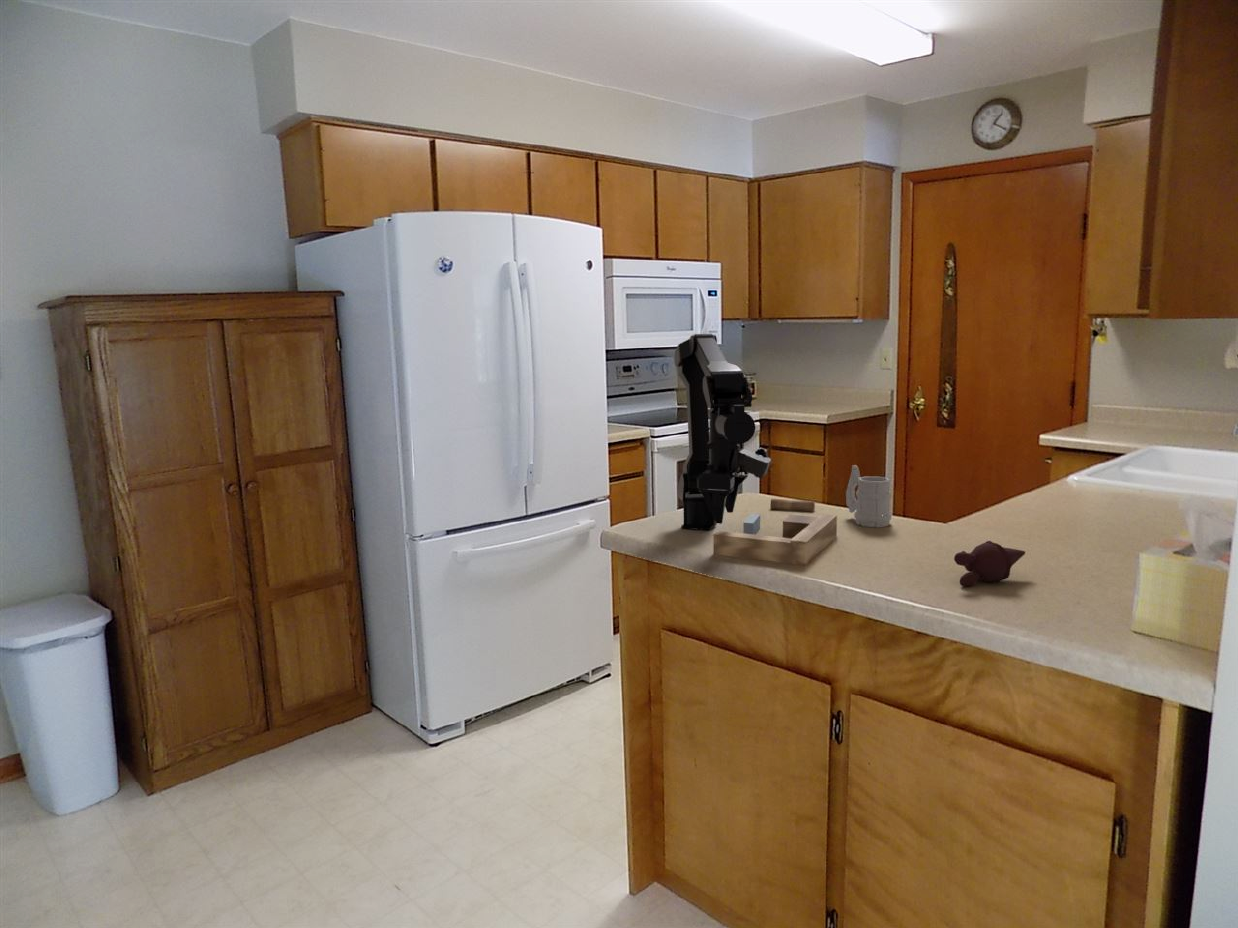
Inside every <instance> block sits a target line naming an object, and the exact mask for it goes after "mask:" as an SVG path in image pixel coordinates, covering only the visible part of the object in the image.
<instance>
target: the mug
mask: <svg viewBox="0 0 1238 928" xmlns="http://www.w3.org/2000/svg"><path fill="white" fill-rule="evenodd" d="M849 477H850V478H849V480H848V485H847V489H846V490H845V496H846V500H845V501H846V507H848V510H849V512H850V513H851V514H852V513H853V514H854V518H855V524H856V525H857V526H862V527H866V528H884V527H888V526H890V523H891V522H890V521H891V520H892V513H890V498H891V496H892V492H891V491H890V479H889V478H888V477H883V476H873V475H872V476H867V475H866V476H862V477H861V474H860V469H859V467H858V466H857V464H854V465H851V473H850V476H849ZM856 487H857V490H856V491H855V489H856ZM882 515H883V516H882Z"/></svg>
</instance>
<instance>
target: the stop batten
mask: <svg viewBox="0 0 1238 928" xmlns="http://www.w3.org/2000/svg"><path fill="white" fill-rule="evenodd" d="M742 526H743V528H742V529H743V531H742V532H743V533H745V534H754V535H757V533H758V532H759V531H760V529H761V514H756V513H751V514H750V515H749V516H748V517H747V518H746V519H745V520H744V521H743V525H742Z"/></svg>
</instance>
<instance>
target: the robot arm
mask: <svg viewBox="0 0 1238 928" xmlns="http://www.w3.org/2000/svg"><path fill="white" fill-rule="evenodd" d="M674 365H675V367H676V368H677V375H678V377H679V379H680V380H681V381H682V383H683V384H684V386H685V393H686V394H685V395H686V412H687V413H686V414H687V433H688V435H687V436H688V455H687V457H686V459H685V462H683V465H682V473H680V477H679V481H678V485H677V496H678V498H679V500H681V502H683V506H682V507H683V524H681V526H680V527H681V529H691V530H702V531H703V530H706V531H710V530H712V529H713V528H714V527H715V526H716V525H717V524H720V525H721V524H722V523H723V521H724V515H725V510H726V513H733V512H734V509H735V505H736V502H737V497H738V492H739V488H740V486H741V484H742V483H743V482H744V481H745V480H746V479H748V477H749V475H750V474H751V475H753V476H754V477H756V478H759V479H763V478H764V477H765V476H766V475H767V473H768V470H769V468H770V466H771V462H772V458H770V457H769V454H768V449H766V448H763V447H759V448H758V449H756V450H755V451H753V450H748V449H746V448H745V446H744V445H745V443H747V442H749V441H750V440H751V439H752V438H753V437H754V435H755V432H756V423H755V419H754V418H753V417H752V416H751V415H750V413H748V412H746V411H745V408H751V407H753V406H752V402H753V400H754V399H753V398H754V397H753V394H752V391H751V388H750V383H749V380H747V377H746V375H745V374H744V372H743V370H742V369H741V368H740V367H739V366H738V365H736V364H733V363H729V362H728V360H727V359H726V357H725V356H724V353H723V352H722V350H721V348H720V346H719V344H718V338H717V335H716V334H712V333H695V334H693V335H691V336H690V337H689V338H688V339H686V340H685V341H683V342H680V343H679V344H678V345H677V346H676V349H675V351H674ZM742 473H743V474H742Z"/></svg>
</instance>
